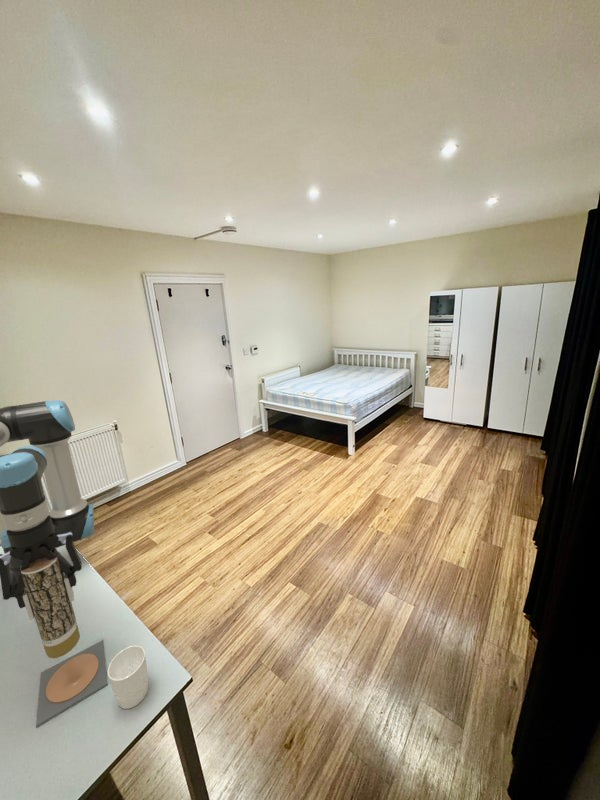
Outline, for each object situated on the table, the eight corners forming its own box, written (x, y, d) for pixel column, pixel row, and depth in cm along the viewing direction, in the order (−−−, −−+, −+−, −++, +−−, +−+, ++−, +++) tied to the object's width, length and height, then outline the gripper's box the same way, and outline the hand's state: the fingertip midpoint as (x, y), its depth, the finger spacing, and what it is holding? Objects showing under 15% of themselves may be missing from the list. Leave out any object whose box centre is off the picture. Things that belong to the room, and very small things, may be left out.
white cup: (142, 668, 81) (136, 638, 79) (157, 689, 76) (150, 658, 74) (110, 696, 75) (102, 665, 73) (123, 721, 70) (115, 688, 68)
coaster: (41, 674, 81) (40, 670, 80) (103, 641, 89) (102, 638, 88) (36, 728, 70) (35, 724, 69) (108, 685, 78) (107, 681, 77)
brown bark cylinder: (62, 662, 72) (36, 574, 66) (39, 657, 74) (11, 570, 68) (87, 634, 79) (65, 551, 73) (65, 630, 80) (42, 548, 74)
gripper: (-40, 551, 60) (-7, 644, 65) (82, 512, 71) (102, 594, 76) (-30, 531, 65) (-1, 618, 71) (82, 499, 77) (100, 575, 82)
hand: (52, 605), depth 73 cm, fingers closed on brown bark cylinder, 7 cm apart
